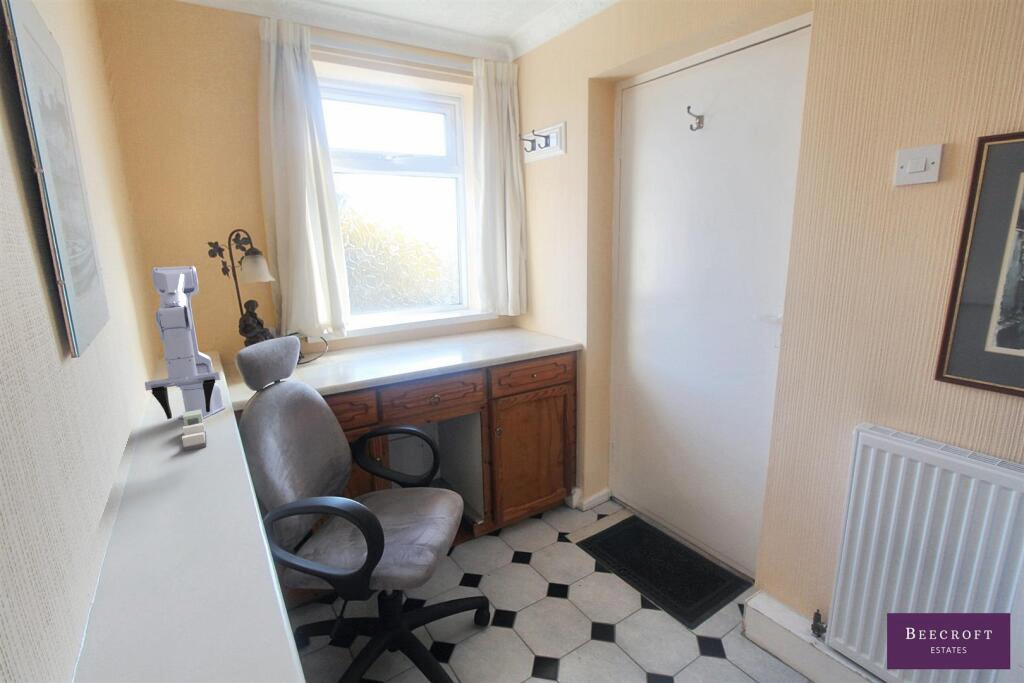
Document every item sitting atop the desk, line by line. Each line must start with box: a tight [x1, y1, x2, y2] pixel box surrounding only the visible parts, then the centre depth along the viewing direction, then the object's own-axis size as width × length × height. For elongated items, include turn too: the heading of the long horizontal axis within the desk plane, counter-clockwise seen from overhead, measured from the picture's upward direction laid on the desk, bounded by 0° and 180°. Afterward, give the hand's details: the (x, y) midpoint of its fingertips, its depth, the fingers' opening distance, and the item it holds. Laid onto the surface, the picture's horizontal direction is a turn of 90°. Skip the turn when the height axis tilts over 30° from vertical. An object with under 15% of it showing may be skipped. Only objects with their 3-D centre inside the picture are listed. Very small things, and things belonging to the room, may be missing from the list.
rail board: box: [181, 422, 207, 452], centre depth 123 cm, size 9×5×3 cm, turn 32°
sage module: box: [182, 409, 205, 426], centre depth 129 cm, size 4×4×6 cm
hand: (189, 414), depth 114 cm, fingers open, 7 cm apart
